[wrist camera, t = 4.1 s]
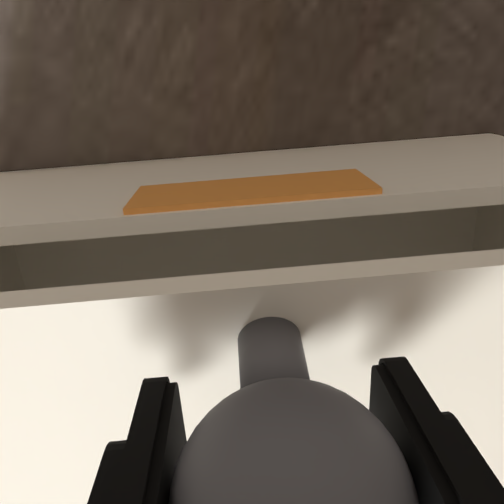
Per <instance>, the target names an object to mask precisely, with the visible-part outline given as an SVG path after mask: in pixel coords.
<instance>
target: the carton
mask: <svg viewBox="0 0 504 504" xmlns="http://www.w3.org/2000/svg"><path fill="white" fill-rule="evenodd" d="M495 249H504V136H501V135H496V134H491V133H486V134H474V135H461V136H448V137H436V138H423V139H410V140H398V141H385V142H372V143H360V144H347V145H335V146H322V147H309V148H297V149H284V150H271V151H259V152H246V153H233V154H221V155H208V156H195V157H183V158H170V159H158V160H145V161H132V162H120V163H107V164H94V165H82V166H69V167H56V168H44V169H31V170H19V171H6V172H0V292H7V291H18V290H30V289H42V288H53V287H65V286H76V285H88V284H100V283H111V282H123V281H135V280H146V279H158V278H169V277H181V276H193V275H204V274H216V273H228V272H239V271H251V270H262V269H274V268H286V267H297V266H309V265H321V264H332V263H344V262H355V261H367V260H379V259H390V258H402V257H414V256H425V255H437V254H448V253H460V252H472V251H483V250H495Z"/></svg>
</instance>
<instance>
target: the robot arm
mask: <svg viewBox="0 0 504 504" xmlns="http://www.w3.org/2000/svg"><path fill="white" fill-rule="evenodd" d="M369 411H370V412H371V413H373V414H374V415H375V416H376V417H377V418H378V419H379V420H380V421H381V422H382V424H383V425H384V426H385V428H386V429H387V430H388V431H389V433H390V434H391V435H392V437H393V438H394V440H395V441H396V443H397V445H398V446H399V448H400V450H401V452H402V453H403V455H404V458H405V460H406V462H407V464H408V467H409V469H410V472H411V474H412V477H413V481H414V484H415V487H416V491H417V494H418V500H419V504H504V487H503V486H502V484H501V483H500V481H499V480H498V478H497V477H496V475H495V474H494V473H493V471H492V470H491V468H490V467H489V465H488V464H487V462H486V461H485V459H484V458H483V456H482V455H481V453H480V452H479V450H478V449H477V447H476V446H475V444H474V443H473V441H472V440H471V438H470V437H469V435H468V434H467V432H466V431H465V429H464V428H463V427H462V425H461V424H460V422H459V421H458V419H457V418H456V417H455V416H454V414H452V413H451V412H449V411H447V412H441V411H440V410H439V408H438V406H437V405H436V403H435V402H434V400H433V399H432V397H431V396H430V394H429V392H428V391H427V389H426V388H425V386H424V385H423V383H422V381H421V380H420V378H419V377H418V375H417V374H416V372H415V370H414V369H413V367H412V366H411V364H410V363H409V361H408V360H407V358H406V357H404V356H402V357H390V358H381V359H380V360H379V363H378V365H373V366H372V368H371V384H370V403H369ZM186 442H187V439H186V433H185V426H184V420H183V413H182V406H181V400H180V393H179V387H178V383H177V382H172V383H170V381H169V378H168V377H155V378H144V379H143V381H142V385H141V388H140V392H139V396H138V399H137V403H136V407H135V410H134V414H133V418H132V422H131V425H130V429H129V433H128V436H127V440H121V441H110V442H109V443H108V444H107V445H106V448H105V450H104V453H103V456H102V459H101V462H100V465H99V468H98V471H97V475H96V478H95V481H94V484H93V487H92V490H91V493H90V496H89V499H88V502H87V504H168V503H169V495H170V488H171V482H172V479H173V475H174V472H175V468H176V465H177V462H178V459H179V457H180V455H181V452H182V450H183V448H184V446H185V444H186Z"/></svg>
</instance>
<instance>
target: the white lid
mask: <svg viewBox="0 0 504 504" xmlns="http://www.w3.org/2000/svg"><path fill="white" fill-rule="evenodd" d="M402 356H404V357H406V358H407V360H408V361H409V363H410V364H411V366H412V367H413V369H414V370H415V372H416V374H417V375H418V377H419V378H420V380H421V381H422V383H423V385H424V386H425V388H426V389H427V391H428V392H429V394H430V396H431V397H432V399H433V400H434V402H435V403H436V405H437V406H438V408H439V410H440V411H441V412H447V411H449V412H451V413H452V414H454V416H455V417H456V418H457V419H458V421H459V422H460V424H461V425H462V427H463V428H464V429H465V431H466V432H467V434H468V435H469V437H470V438H471V440H472V441H473V443H474V444H475V446H476V447H477V449H478V450H479V452H480V453H481V455H482V456H483V458H484V459H485V461H486V462H487V464H488V465H489V467H490V468H491V470H492V471H493V473H494V474H495V475H496V477H497V478H498V480H499V481H500V483H501V484H502V486H503V487H504V249H495V250H483V251H472V252H460V253H448V254H437V255H425V256H414V257H402V258H390V259H379V260H367V261H355V262H344V263H332V264H321V265H309V266H297V267H286V268H274V269H262V270H251V271H239V272H228V273H216V274H204V275H193V276H181V277H169V278H158V279H146V280H135V281H123V282H111V283H100V284H88V285H76V286H65V287H53V288H42V289H30V290H18V291H7V292H0V504H87V502H88V499H89V496H90V493H91V490H92V487H93V484H94V481H95V478H96V475H97V471H98V468H99V465H100V462H101V459H102V456H103V453H104V450H105V448H106V445H107V444H108V443H109V442H110V441H121V440H127V436H128V433H129V429H130V425H131V422H132V418H133V414H134V410H135V407H136V403H137V399H138V396H139V392H140V388H141V385H142V381H143V379H144V378H155V377H168V378H169V381H170V383H172V382H177V383H178V387H179V393H180V400H181V406H182V413H183V420H184V426H185V433H186V439H187V442H186V444H185V446H184V448H183V450H182V452H181V455H180V457H179V459H178V462H177V465H176V468H175V472H174V475H173V479H172V482H171V488H170V495H169V503H168V504H419V500H418V494H417V491H416V487H415V484H414V481H413V477H412V474H411V472H410V469H409V467H408V464H407V462H406V460H405V458H404V455H403V453H402V452H401V450H400V448H399V446H398V445H397V443H396V441H395V440H394V438H393V437H392V435H391V434H390V433H389V431H388V430H387V429H386V428H385V426H384V425H383V424H382V422H381V421H380V420H379V419H378V418H377V417H376V416H375V415H374V414H373V413H371V412H370V411H369V403H370V384H371V368H372V366H373V365H378V363H379V360H380V359H381V358H390V357H402Z"/></svg>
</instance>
